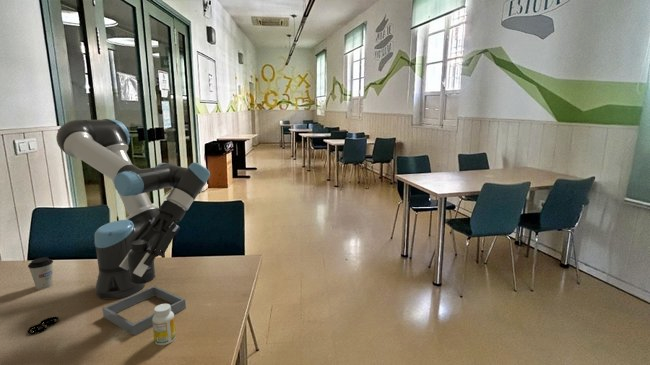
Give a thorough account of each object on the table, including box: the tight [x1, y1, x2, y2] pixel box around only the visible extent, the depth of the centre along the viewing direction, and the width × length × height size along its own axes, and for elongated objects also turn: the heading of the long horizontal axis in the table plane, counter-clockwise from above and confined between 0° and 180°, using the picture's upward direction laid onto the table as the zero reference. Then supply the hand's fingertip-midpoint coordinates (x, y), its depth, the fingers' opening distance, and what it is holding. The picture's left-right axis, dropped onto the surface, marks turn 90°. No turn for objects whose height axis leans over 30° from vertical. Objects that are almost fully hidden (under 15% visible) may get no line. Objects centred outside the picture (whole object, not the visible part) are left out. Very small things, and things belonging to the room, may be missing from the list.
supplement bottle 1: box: [128, 239, 156, 284], centre depth 104 cm, size 7×7×12 cm
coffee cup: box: [27, 256, 54, 290], centre depth 123 cm, size 7×7×10 cm
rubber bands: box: [27, 316, 59, 335], centre depth 101 cm, size 5×8×1 cm, turn 168°
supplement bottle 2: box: [152, 303, 177, 346], centre depth 94 cm, size 5×5×10 cm
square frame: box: [102, 285, 187, 336], centre depth 107 cm, size 17×17×3 cm
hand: (130, 271), depth 102 cm, fingers closed on supplement bottle 1, 7 cm apart
